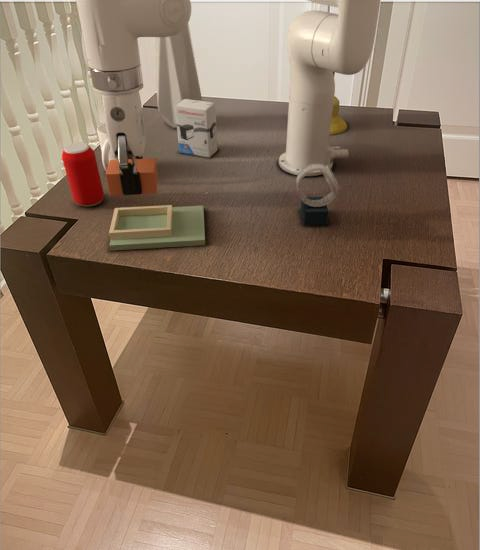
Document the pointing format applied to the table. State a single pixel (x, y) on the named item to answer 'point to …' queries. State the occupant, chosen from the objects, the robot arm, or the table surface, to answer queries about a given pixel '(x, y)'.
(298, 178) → the grey ring dark base
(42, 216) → the table surface
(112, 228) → the base pad
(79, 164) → the beverage can
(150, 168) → the orange box
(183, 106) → the ink box
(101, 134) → the mug
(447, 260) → the table surface
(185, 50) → the vase
